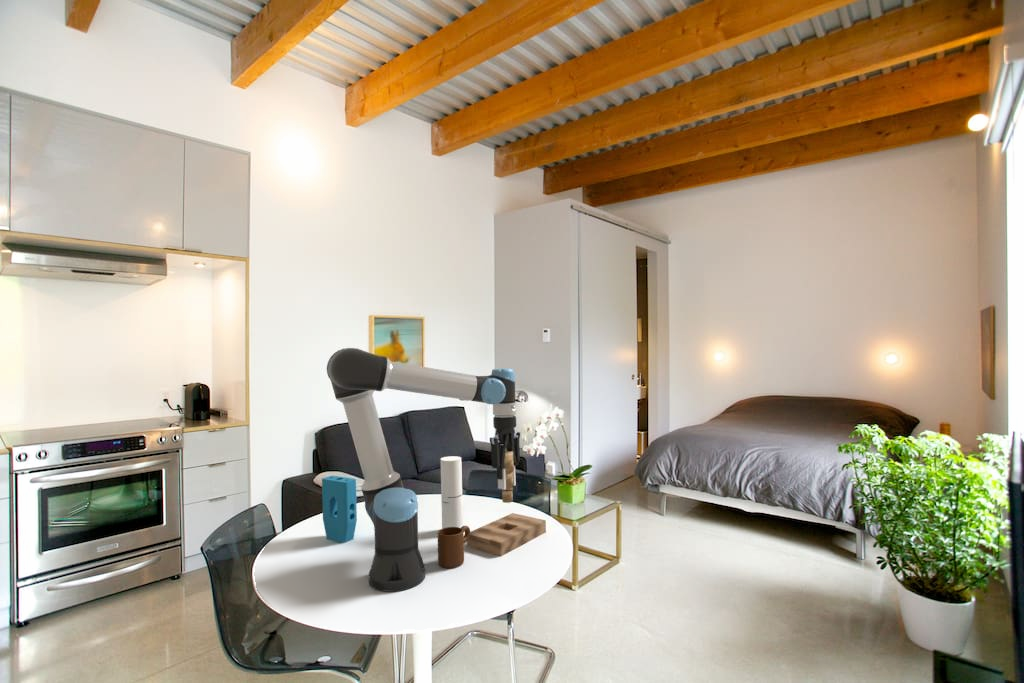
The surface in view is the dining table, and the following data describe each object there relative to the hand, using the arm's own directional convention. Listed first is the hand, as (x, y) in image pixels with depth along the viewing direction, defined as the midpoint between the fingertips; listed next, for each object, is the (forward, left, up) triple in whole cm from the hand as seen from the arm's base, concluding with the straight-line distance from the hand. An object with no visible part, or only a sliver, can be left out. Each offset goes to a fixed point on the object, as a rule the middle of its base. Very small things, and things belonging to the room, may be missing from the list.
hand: (506, 486), depth 169 cm
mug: (-22, +2, -17) cm, 28 cm away
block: (-31, +47, -17) cm, 59 cm away
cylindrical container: (-5, +20, -17) cm, 27 cm away
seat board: (0, 0, -17) cm, 17 cm away
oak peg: (0, 0, -5) cm, 5 cm away
